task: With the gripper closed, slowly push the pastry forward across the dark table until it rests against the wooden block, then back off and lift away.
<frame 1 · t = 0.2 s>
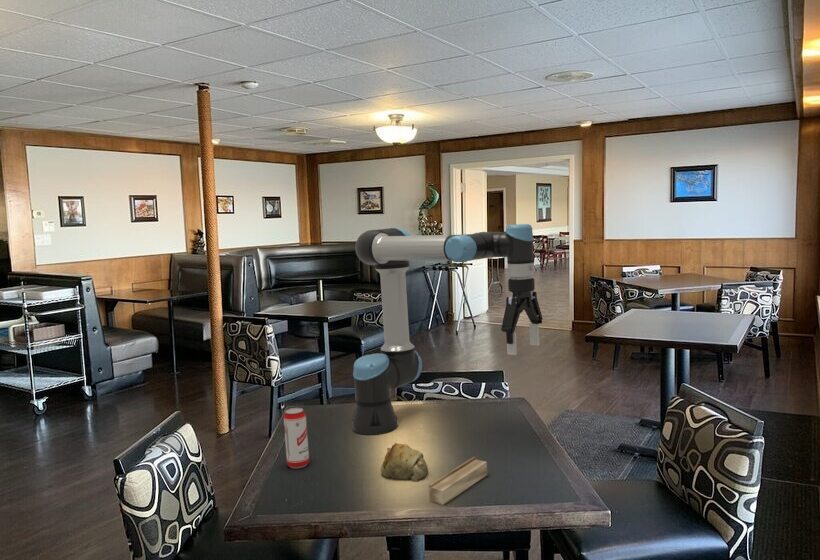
hand: (523, 350, 181), 28 cm above the table, fingers open, 13 cm apart
pastry: (404, 473, 167), on the table
beer can: (298, 465, 176), on the table
wooden block: (459, 487, 156), on the table
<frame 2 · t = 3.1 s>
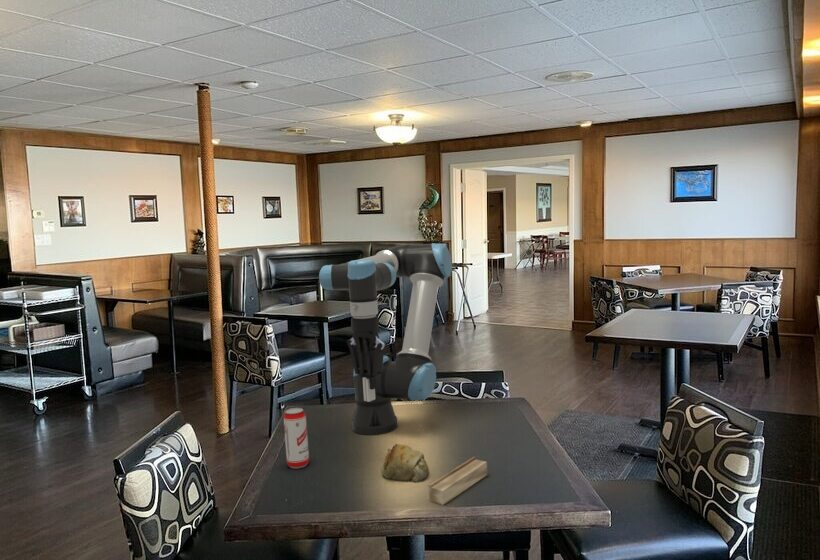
hand: (369, 399, 172), 18 cm above the table, fingers closed
nothing on the table moved.
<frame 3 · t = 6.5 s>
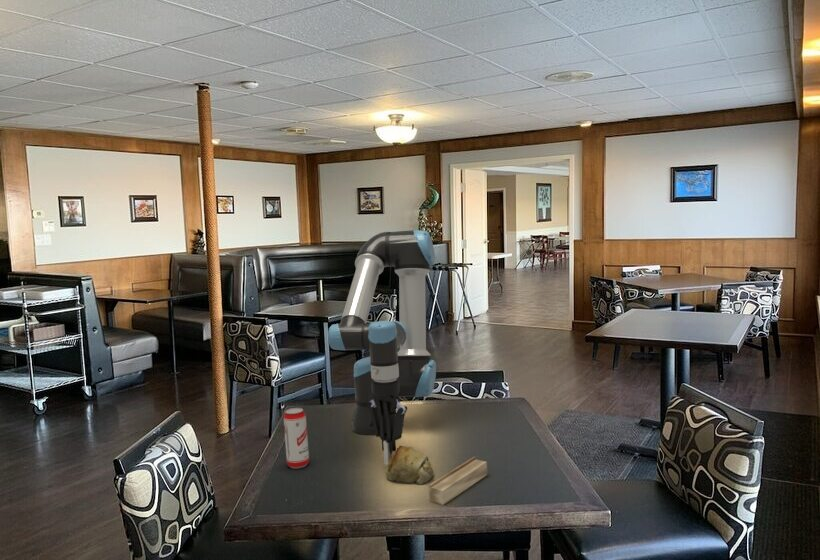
hand: (389, 463, 170), 2 cm above the table, fingers closed
pastry: (409, 476, 165), on the table, touching gripper
everything else where it was.
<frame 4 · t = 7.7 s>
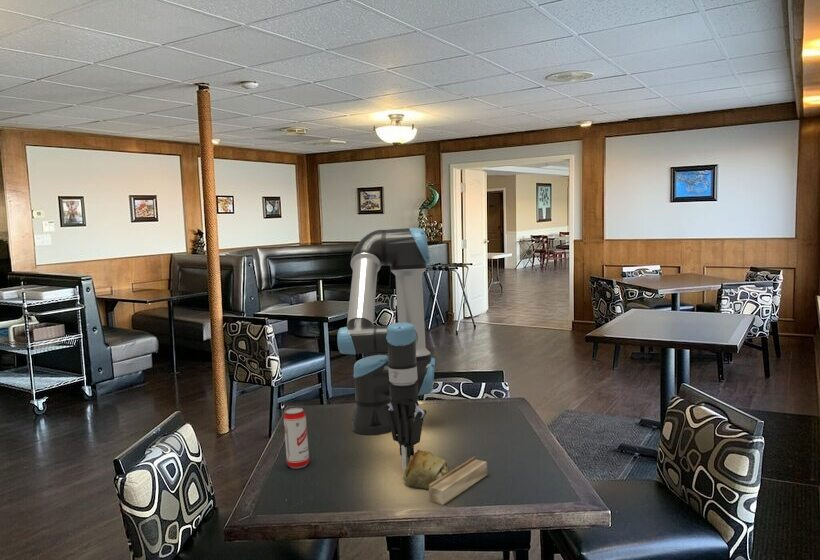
hand: (407, 467, 166), 2 cm above the table, fingers closed
pastry: (427, 482, 161), on the table, touching wooden block, gripper
everything else where it was.
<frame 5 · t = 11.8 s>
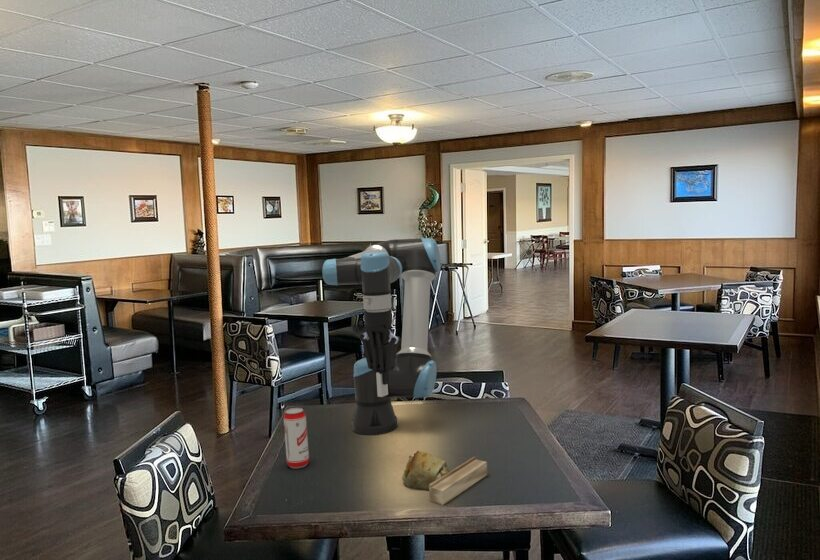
hand: (382, 395, 169), 20 cm above the table, fingers closed
pastry: (426, 482, 161), on the table
everything else where it was.
at the end: pastry inside the target area on the table beside the wooden block (2.9 cm from its centre), on the table; pastry tilted 0°; pastry moved 8.9 cm from its start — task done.
